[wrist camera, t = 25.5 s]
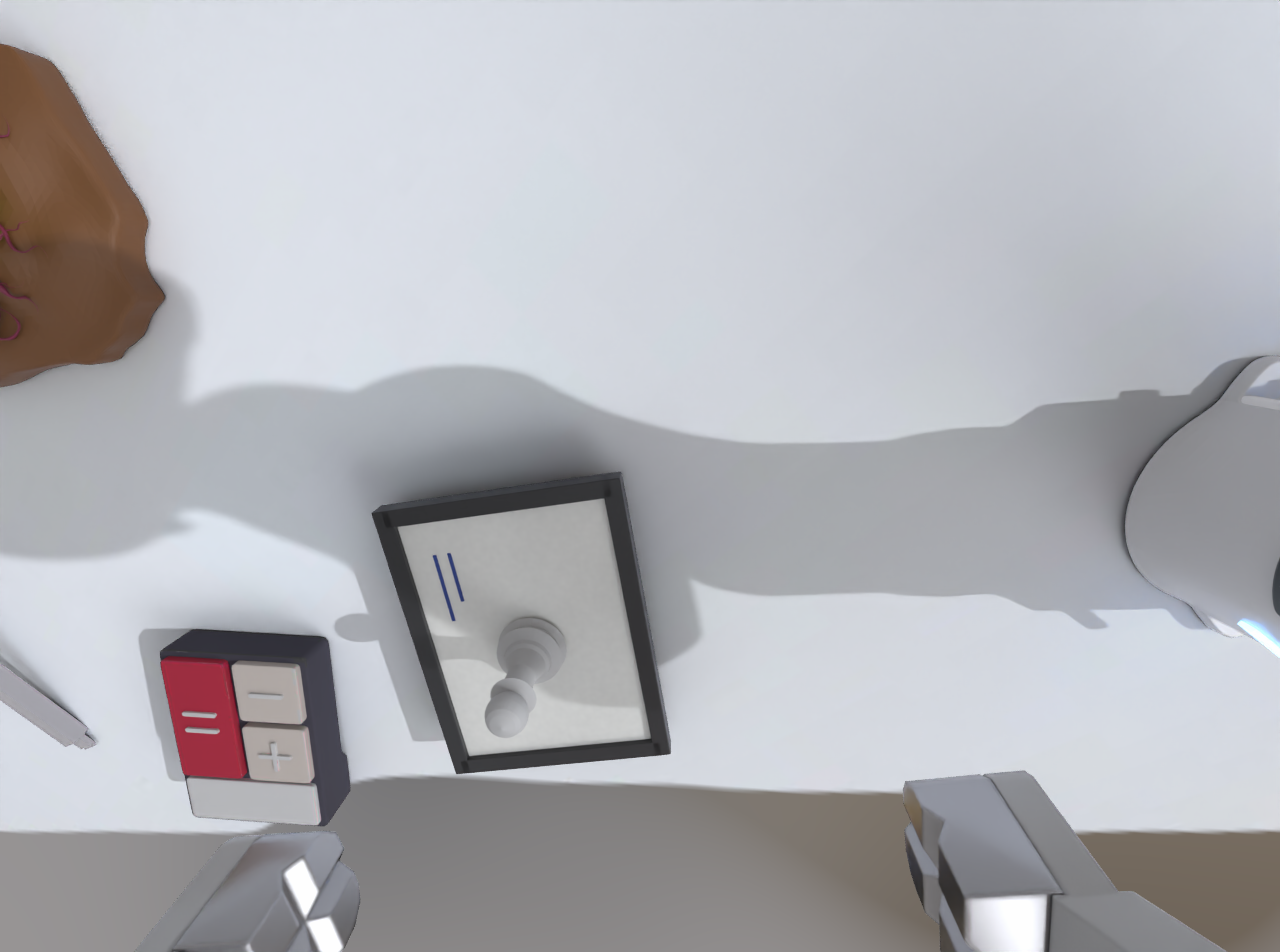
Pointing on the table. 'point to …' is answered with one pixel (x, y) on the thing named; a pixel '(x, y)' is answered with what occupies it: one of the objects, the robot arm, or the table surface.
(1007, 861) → the robot arm
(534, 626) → the chess piece
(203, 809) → the calculator
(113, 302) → the plant
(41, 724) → the caliper
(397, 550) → the whiteboard
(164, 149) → the table surface
